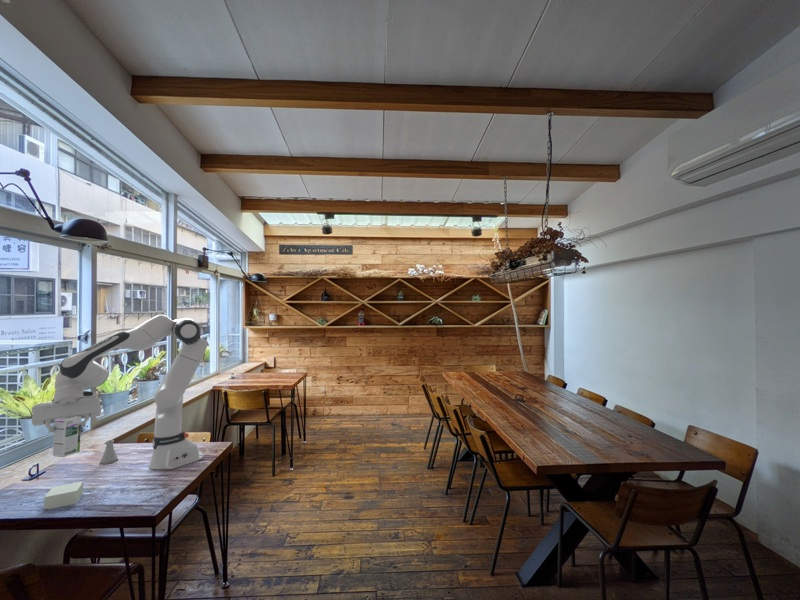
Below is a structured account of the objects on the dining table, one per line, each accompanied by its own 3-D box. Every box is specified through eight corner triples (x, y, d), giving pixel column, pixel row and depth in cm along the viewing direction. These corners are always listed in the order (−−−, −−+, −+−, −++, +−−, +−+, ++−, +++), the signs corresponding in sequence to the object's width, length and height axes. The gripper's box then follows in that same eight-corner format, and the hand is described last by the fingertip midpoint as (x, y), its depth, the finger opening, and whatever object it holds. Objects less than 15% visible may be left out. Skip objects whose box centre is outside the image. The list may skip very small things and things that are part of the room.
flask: (97, 465, 165) (98, 444, 166) (101, 460, 172) (102, 439, 172) (116, 462, 169) (117, 442, 169) (120, 457, 175) (120, 437, 176)
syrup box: (63, 457, 132) (65, 419, 133) (51, 456, 133) (54, 418, 134) (79, 452, 138) (82, 415, 139) (68, 451, 139) (71, 414, 140)
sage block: (82, 493, 139) (83, 481, 139) (76, 504, 131) (76, 490, 131) (52, 500, 134) (53, 486, 134) (43, 511, 126) (44, 497, 127)
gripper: (32, 399, 134) (28, 430, 127) (101, 391, 149) (101, 418, 141) (32, 408, 137) (29, 439, 130) (99, 400, 152) (100, 427, 144)
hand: (67, 428), depth 136 cm, fingers closed on syrup box, 8 cm apart
